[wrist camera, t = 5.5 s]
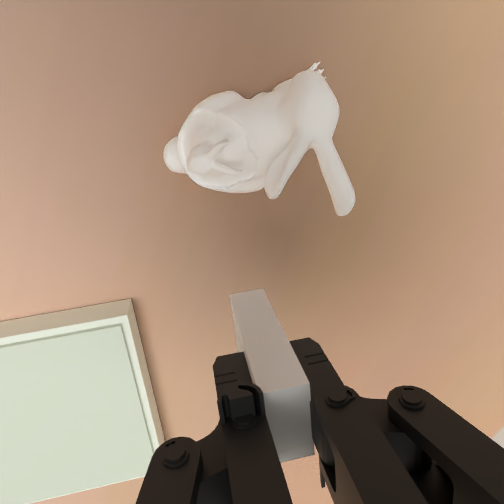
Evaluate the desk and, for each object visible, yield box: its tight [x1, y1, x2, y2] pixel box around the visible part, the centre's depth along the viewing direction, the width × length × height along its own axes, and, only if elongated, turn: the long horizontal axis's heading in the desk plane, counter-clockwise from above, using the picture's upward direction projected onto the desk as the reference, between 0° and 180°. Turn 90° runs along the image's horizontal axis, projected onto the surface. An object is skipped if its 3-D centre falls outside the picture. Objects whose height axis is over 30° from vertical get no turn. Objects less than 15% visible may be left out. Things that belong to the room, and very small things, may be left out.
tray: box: [0, 299, 165, 504], centre depth 29 cm, size 14×16×3 cm
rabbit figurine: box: [163, 62, 356, 216], centre depth 23 cm, size 12×8×10 cm, turn 107°
